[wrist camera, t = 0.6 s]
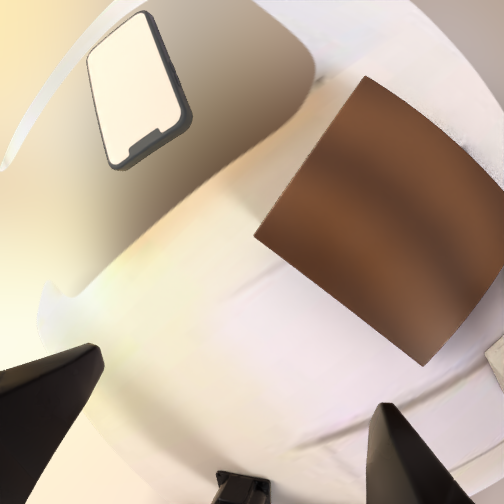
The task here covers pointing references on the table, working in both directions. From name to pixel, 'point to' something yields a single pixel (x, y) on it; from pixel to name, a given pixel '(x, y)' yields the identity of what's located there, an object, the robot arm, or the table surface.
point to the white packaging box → (497, 360)
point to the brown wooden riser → (392, 222)
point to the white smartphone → (136, 92)
